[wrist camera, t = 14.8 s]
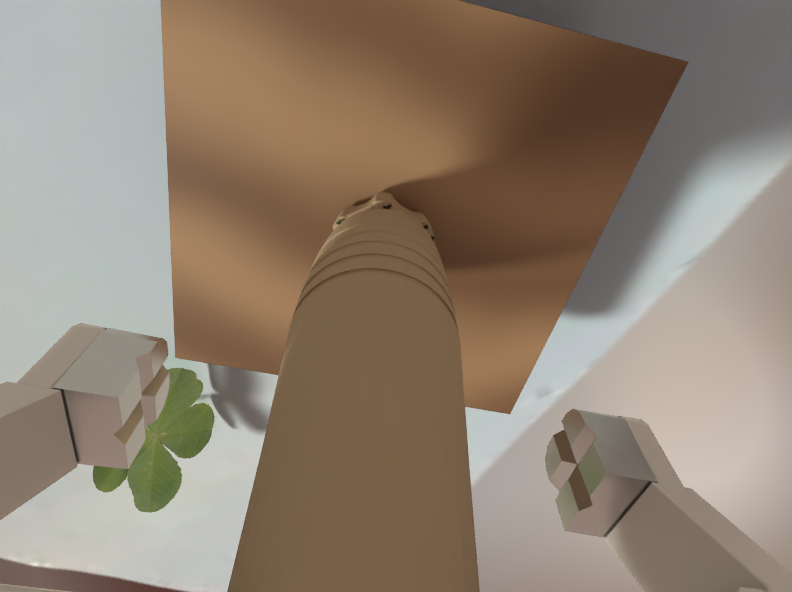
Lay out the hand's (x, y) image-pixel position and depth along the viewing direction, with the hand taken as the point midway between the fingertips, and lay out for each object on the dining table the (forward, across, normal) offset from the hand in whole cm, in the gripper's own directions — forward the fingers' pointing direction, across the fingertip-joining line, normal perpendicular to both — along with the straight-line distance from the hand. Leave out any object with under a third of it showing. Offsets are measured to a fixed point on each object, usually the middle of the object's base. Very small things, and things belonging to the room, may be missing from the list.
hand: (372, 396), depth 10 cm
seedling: (+14, +14, +18) cm, 26 cm away
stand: (+13, 0, 0) cm, 13 cm away
